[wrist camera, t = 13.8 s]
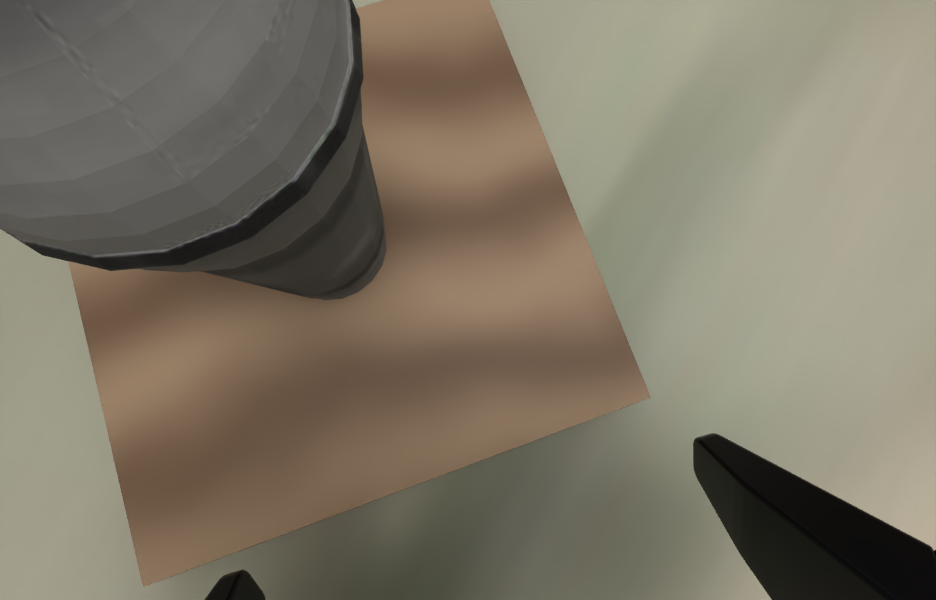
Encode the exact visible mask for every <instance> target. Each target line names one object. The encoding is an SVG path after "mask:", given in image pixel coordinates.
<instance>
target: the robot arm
mask: <svg viewBox="0 0 936 600" xmlns="http://www.w3.org/2000/svg"><path fill="white" fill-rule="evenodd" d="M693 463H694V471H695V474H696V477H697V479H698V481H699V483H700V484H701V486H702V488H703V490H704V491H705V493H706V495H707V497H708V499H709V500H710V502H711V504H712V506H713V507H714V509H715V511H716V513H717V514H718V516H719V518H720V520H721V522H722V523H723V525H724V527H725V529H726V530H727V532H728V534H729V536H730V537H731V539H732V541H733V543H734V544H735V546H736V548H737V549H738V551H739V553H740V554H741V556H742V557H743V559H744V560H745V562H746V563H747V565H748V566H749V568H750V569H751V571H752V572H753V573H754V575H755V576H756V578H757V579H758V580H759V582H760V583H761V585H762V586H763V588H764V589H765V590H766V592H767V593H768V595H769V596H770V598H771V599H772V600H936V550H934V551H933V549H932V547H931V546H929V545H927V544H925V543H923V542H921V541H920V540H918V539H916V538H914V537H912V536H910V535H908V534H906V533H904V532H903V531H901V530H899V529H897V528H895V527H893V526H891V525H889V524H887V523H885V522H884V521H882V520H880V519H878V518H876V517H874V516H872V515H870V514H868V513H866V512H865V511H863V510H861V509H859V508H857V507H855V506H853V505H851V504H849V503H847V502H846V501H844V500H842V499H840V498H838V497H836V496H834V495H832V494H830V493H829V492H827V491H825V490H823V489H821V488H819V487H817V486H815V485H813V484H811V483H810V482H808V481H806V480H804V479H802V478H800V477H798V476H796V475H794V474H792V473H791V472H789V471H787V470H785V469H783V468H781V467H779V466H777V465H775V464H773V463H772V462H770V461H768V460H766V459H764V458H762V457H760V456H758V455H756V454H755V453H753V452H751V451H749V450H747V449H745V448H743V447H741V446H739V445H737V444H736V443H734V442H732V441H730V440H728V439H726V438H724V437H722V436H720V435H718V434H714V433H712V434H708V435H704V436H701V437H697V438H696V439H695V440H694V444H693ZM205 600H265V596H264V594H263V592H262V590H261V589H260V588H259V586H258V585H257V584H256V582H255V581H254V579H253V578H252V577H251V575H250V574H249V573H248V572H247V571H245V570H240V571H237V572H233V573H230V574H227V575H224V576H223V577H222V578H221V579H220V580H219V581H218V582H217V583H216V585H215V586H214V588H213V589H212V590H211V592H210V593H209V594H208V596H207V597H206V598H205Z"/></svg>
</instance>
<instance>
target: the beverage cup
mask: <svg viewBox="0 0 936 600" xmlns="http://www.w3.org/2000/svg"><path fill="white" fill-rule="evenodd" d="M363 79H364V76H363V59H362V42H361V25H360V17H359V15H358V13H357V10H356V8H355V6H354V3H353V1H352V0H0V229H2V230H3V231H5V232H6V233H8V234H10V235H11V236H13V237H14V238H16V239H18V240H19V241H21V242H22V243H24V244H25V245H27V246H29V247H30V248H32V249H33V250H35V251H37V252H38V253H40V254H41V255H44V256H48V257H52V258H57V259H61V260H65V261H70V262H74V263H78V264H83V265H87V266H91V267H96V268H100V269H104V270H109V271H117V270H129V269H143V270H150V271H168V272H195V271H201V272H205V273H209V274H213V275H217V276H221V277H225V278H229V279H233V280H237V281H241V282H245V283H249V284H253V285H257V286H261V287H265V288H269V289H273V290H277V291H281V292H285V293H289V294H294V295H298V296H302V297H307V298H311V299H314V298H318V299H322V300H332V299H343V298H345V297H347V296H350V295H352V294H355V293H357V292H359V291H360V290H362V289H363V288H364V287H365V286H367V285H368V284H369V283H370V282H371V281H373V279H374V278H375V276H376V274H377V273H378V271H379V270H380V268H381V267H382V264H383V260H384V257H385V253H386V234H385V226H384V216H383V212H382V208H381V203H380V199H379V195H378V190H377V186H376V181H375V177H374V173H373V168H372V164H371V160H370V155H369V151H368V146H367V142H366V138H365V133H364V129H363V125H362V101H361V85H362V82H363Z"/></svg>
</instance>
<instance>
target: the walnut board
mask: <svg viewBox="0 0 936 600" xmlns="http://www.w3.org/2000/svg"><path fill="white" fill-rule="evenodd" d="M356 10H357V13H358V15H359V17H360V25H361V42H362V59H363V76H364V79H363V82H362V85H361V101H362V125H363V129H364V133H365V138H366V142H367V146H368V151H369V155H370V160H371V164H372V168H373V173H374V177H375V181H376V186H377V190H378V195H379V199H380V203H381V208H382V212H383V216H384V226H385V234H386V253H385V257H384V260H383V264H382V267H381V268H380V270H379V271H378V273H377V274H376V276H375V278H374V279H373V281H371V282H370V283H369V284H368V285H367V286H365V287H364V288H363V289H362V290H360V291H359V292H357V293H355V294H352V295H350V296H347V297H345V298H343V299H332V300H322V299H318V298H314V299H311V298H307V297H302V296H298V295H294V294H289V293H285V292H281V291H277V290H273V289H269V288H265V287H261V286H257V285H253V284H249V283H245V282H241V281H237V280H233V279H229V278H225V277H221V276H217V275H213V274H209V273H205V272H201V271H195V272H168V271H150V270H143V269H129V270H117V271H109V270H104V269H100V268H96V267H91V266H87V265H83V264H78V263H74V262H70V261H69V266H70V270H71V274H72V279H73V283H74V287H75V292H76V296H77V300H78V305H79V309H80V314H81V318H82V322H83V327H84V331H85V335H86V340H87V344H88V348H89V353H90V357H91V361H92V366H93V370H94V374H95V379H96V383H97V387H98V392H99V396H100V401H101V405H102V409H103V414H104V418H105V422H106V427H107V431H108V435H109V440H110V444H111V448H112V453H113V457H114V461H115V466H116V470H117V474H118V479H119V483H120V488H121V492H122V496H123V501H124V505H125V509H126V514H127V518H128V522H129V527H130V531H131V535H132V540H133V544H134V548H135V553H136V557H137V561H138V566H139V570H140V575H141V579H142V583H143V587H144V586H147V585H149V584H152V583H155V582H157V581H160V580H163V579H166V578H168V577H171V576H174V575H176V574H179V573H182V572H184V571H187V570H190V569H192V568H195V567H198V566H200V565H203V564H206V563H208V562H211V561H214V560H216V559H219V558H222V557H224V556H227V555H230V554H232V553H235V552H238V551H240V550H243V549H246V548H249V547H251V546H254V545H257V544H259V543H262V542H265V541H267V540H270V539H273V538H275V537H278V536H281V535H283V534H286V533H289V532H291V531H294V530H297V529H299V528H302V527H305V526H307V525H310V524H313V523H315V522H318V521H321V520H323V519H326V518H329V517H332V516H334V515H337V514H340V513H342V512H345V511H348V510H350V509H353V508H356V507H358V506H361V505H364V504H366V503H369V502H372V501H374V500H377V499H380V498H382V497H385V496H388V495H390V494H393V493H396V492H398V491H401V490H404V489H406V488H409V487H412V486H415V485H417V484H420V483H423V482H425V481H428V480H431V479H433V478H436V477H439V476H441V475H444V474H447V473H449V472H452V471H455V470H457V469H460V468H463V467H465V466H468V465H471V464H473V463H476V462H479V461H481V460H484V459H487V458H489V457H492V456H495V455H498V454H500V453H503V452H506V451H508V450H511V449H514V448H516V447H519V446H522V445H524V444H527V443H530V442H532V441H535V440H538V439H540V438H543V437H546V436H548V435H551V434H554V433H556V432H559V431H562V430H564V429H567V428H570V427H572V426H575V425H578V424H581V423H583V422H586V421H589V420H591V419H594V418H597V417H599V416H602V415H605V414H607V413H610V412H613V411H615V410H618V409H621V408H623V407H626V406H629V405H631V404H634V403H637V402H639V401H642V400H645V399H647V398H650V395H649V392H648V390H647V387H646V385H645V383H644V380H643V378H642V375H641V373H640V370H639V368H638V365H637V363H636V360H635V358H634V355H633V353H632V351H631V348H630V346H629V343H628V341H627V338H626V336H625V333H624V331H623V328H622V326H621V323H620V321H619V319H618V316H617V314H616V311H615V309H614V306H613V304H612V301H611V299H610V296H609V294H608V292H607V289H606V287H605V284H604V282H603V279H602V277H601V274H600V272H599V269H598V267H597V264H596V262H595V260H594V257H593V255H592V252H591V250H590V247H589V245H588V242H587V240H586V237H585V235H584V232H583V230H582V228H581V225H580V223H579V220H578V218H577V215H576V213H575V210H574V208H573V205H572V203H571V200H570V198H569V196H568V193H567V191H566V188H565V186H564V183H563V181H562V178H561V176H560V173H559V171H558V168H557V166H556V164H555V161H554V159H553V156H552V154H551V151H550V149H549V146H548V144H547V141H546V139H545V137H544V134H543V132H542V129H541V127H540V124H539V122H538V119H537V117H536V114H535V112H534V109H533V107H532V105H531V102H530V100H529V97H528V95H527V92H526V90H525V87H524V85H523V82H522V80H521V77H520V75H519V73H518V70H517V68H516V65H515V63H514V60H513V58H512V55H511V53H510V50H509V48H508V45H507V43H506V41H505V38H504V36H503V33H502V31H501V28H500V26H499V23H498V21H497V18H496V16H495V13H494V11H493V9H492V6H491V4H490V1H489V0H384V1H380V2H377V3H374V4H370V5H367V6H363V7H360V8H357V9H356Z"/></svg>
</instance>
